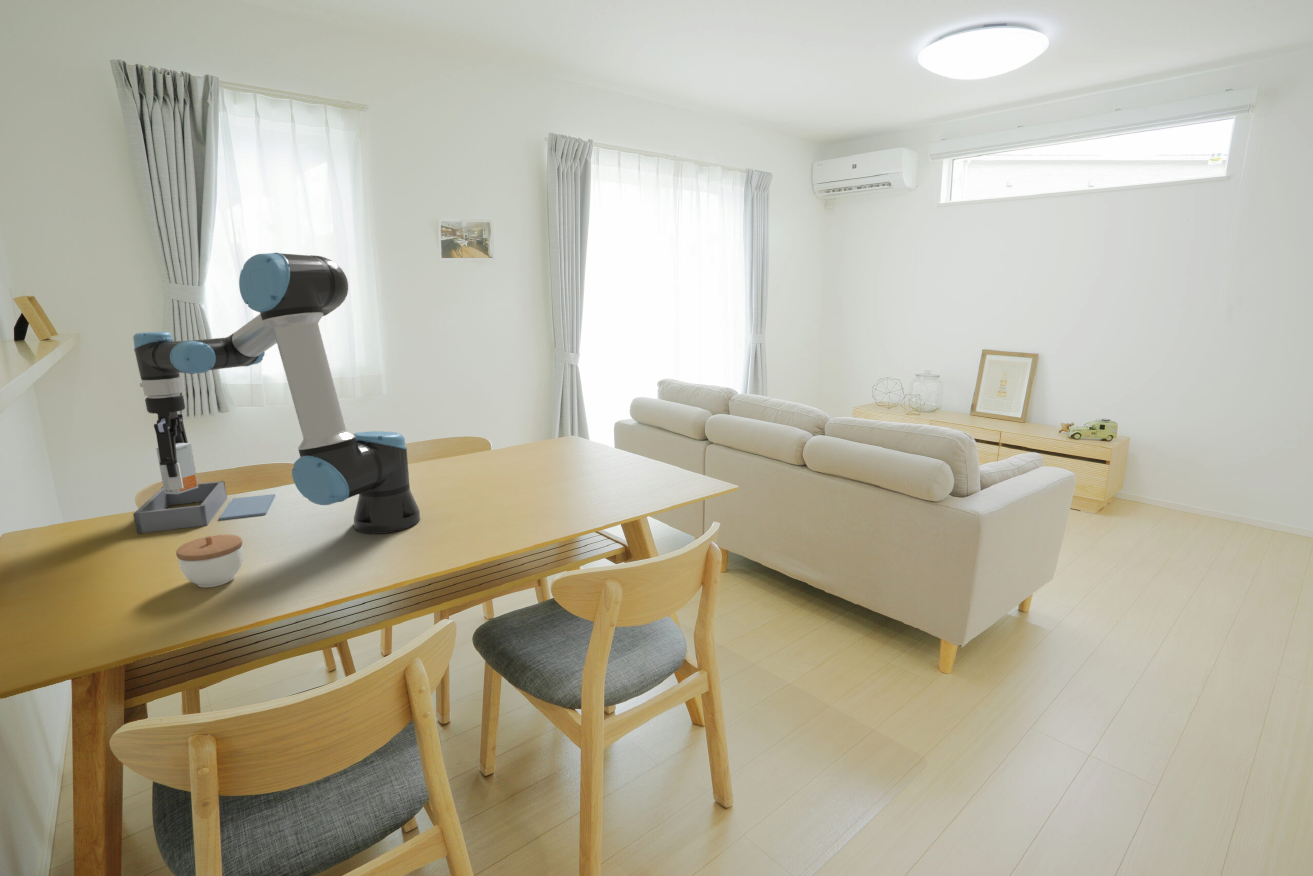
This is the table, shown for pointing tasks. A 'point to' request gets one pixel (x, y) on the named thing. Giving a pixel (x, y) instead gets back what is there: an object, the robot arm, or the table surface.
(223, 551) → the lidded jar
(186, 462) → the skincare box
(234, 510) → the board
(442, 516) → the table surface
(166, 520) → the parts bin
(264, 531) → the table surface
